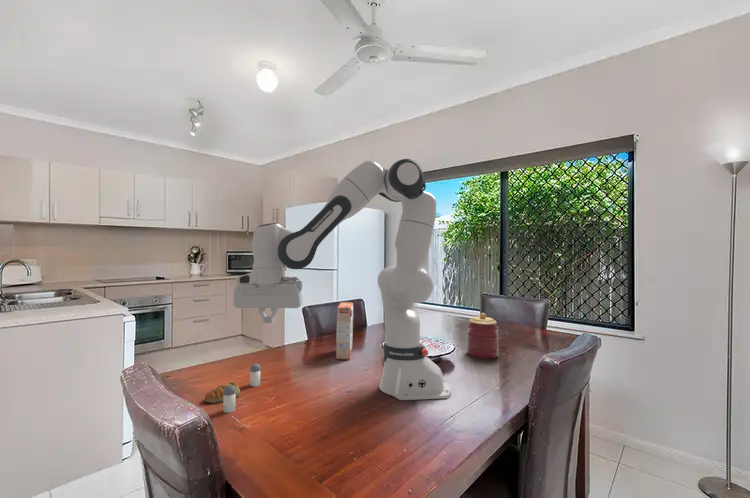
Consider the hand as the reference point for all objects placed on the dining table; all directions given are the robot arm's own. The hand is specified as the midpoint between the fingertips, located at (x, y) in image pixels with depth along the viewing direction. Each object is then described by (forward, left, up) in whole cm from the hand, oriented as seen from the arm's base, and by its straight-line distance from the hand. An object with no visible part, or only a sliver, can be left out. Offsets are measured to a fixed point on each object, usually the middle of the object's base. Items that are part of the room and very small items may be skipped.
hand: (268, 322), depth 108 cm
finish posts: (+6, +3, -22) cm, 23 cm away
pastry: (+12, +4, -22) cm, 25 cm away
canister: (-76, -48, -22) cm, 92 cm away
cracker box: (-18, -41, -22) cm, 50 cm away
